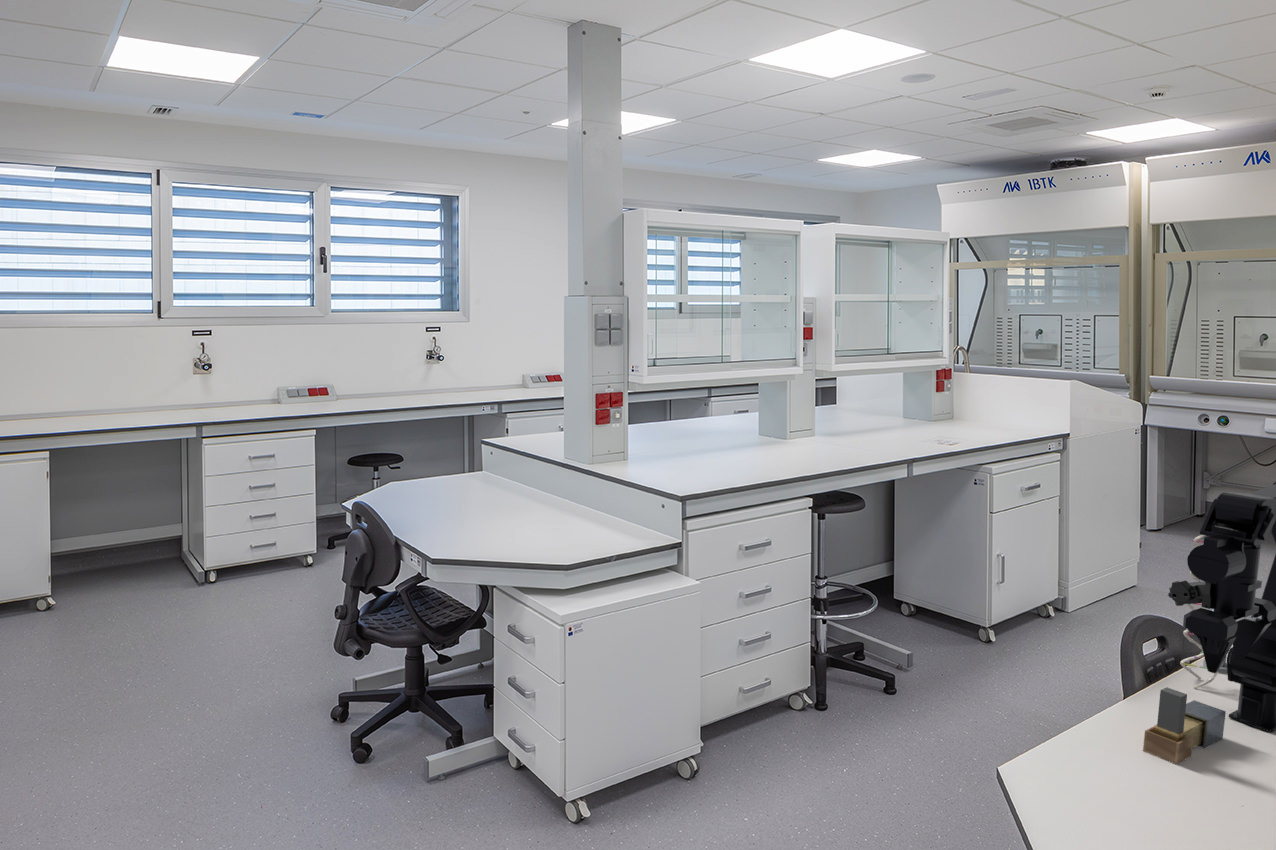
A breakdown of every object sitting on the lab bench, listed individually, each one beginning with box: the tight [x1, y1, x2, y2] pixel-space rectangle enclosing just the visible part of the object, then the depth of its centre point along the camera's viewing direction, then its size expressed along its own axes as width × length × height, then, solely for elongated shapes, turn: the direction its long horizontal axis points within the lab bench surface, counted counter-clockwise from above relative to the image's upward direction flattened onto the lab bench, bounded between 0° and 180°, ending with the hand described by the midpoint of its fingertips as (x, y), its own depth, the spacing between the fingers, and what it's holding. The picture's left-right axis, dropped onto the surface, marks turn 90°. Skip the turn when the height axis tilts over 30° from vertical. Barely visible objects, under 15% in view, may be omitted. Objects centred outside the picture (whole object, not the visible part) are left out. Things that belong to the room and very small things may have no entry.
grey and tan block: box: [1153, 686, 1206, 749], centre depth 137 cm, size 9×4×10 cm, turn 123°
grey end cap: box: [1185, 699, 1227, 749], centre depth 141 cm, size 6×5×5 cm
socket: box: [1142, 726, 1193, 765], centre depth 136 cm, size 5×5×3 cm
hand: (1225, 666), depth 138 cm, fingers open, 9 cm apart
